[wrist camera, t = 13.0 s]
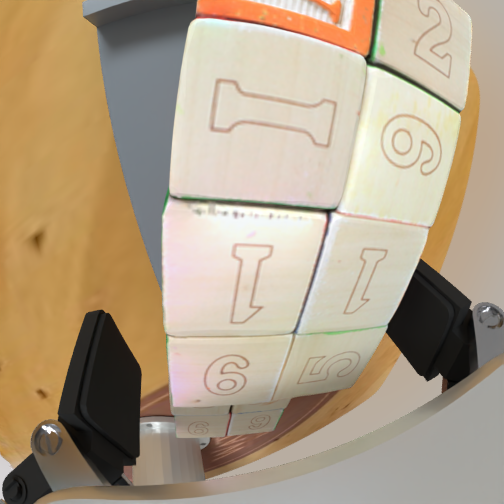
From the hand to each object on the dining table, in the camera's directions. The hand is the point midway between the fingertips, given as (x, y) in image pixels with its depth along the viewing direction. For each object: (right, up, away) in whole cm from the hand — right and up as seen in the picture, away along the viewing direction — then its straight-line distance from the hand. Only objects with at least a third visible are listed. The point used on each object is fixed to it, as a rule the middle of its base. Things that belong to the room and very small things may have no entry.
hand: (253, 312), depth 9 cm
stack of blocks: (-2, +5, +9) cm, 10 cm away
